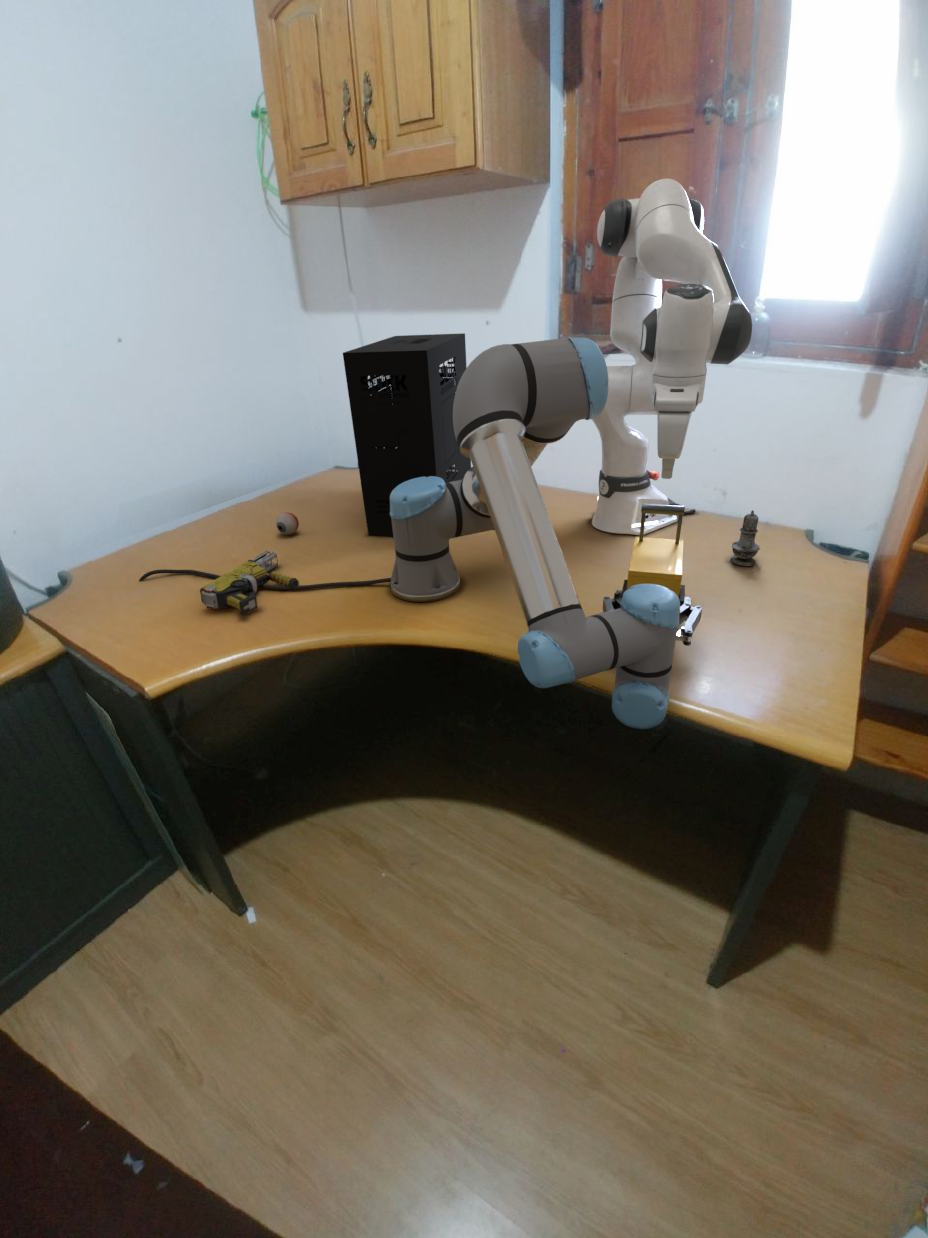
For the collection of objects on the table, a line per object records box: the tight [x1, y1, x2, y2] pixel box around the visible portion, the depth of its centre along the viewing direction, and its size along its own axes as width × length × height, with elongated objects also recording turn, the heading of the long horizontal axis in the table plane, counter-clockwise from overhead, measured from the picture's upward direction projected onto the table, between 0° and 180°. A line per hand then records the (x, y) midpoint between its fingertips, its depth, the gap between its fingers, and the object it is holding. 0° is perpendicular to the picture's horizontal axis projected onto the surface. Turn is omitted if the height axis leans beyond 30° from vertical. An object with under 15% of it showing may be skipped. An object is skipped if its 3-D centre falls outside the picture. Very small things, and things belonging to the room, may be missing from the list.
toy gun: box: [199, 550, 300, 616], centre depth 135 cm, size 5×24×15 cm
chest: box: [627, 575, 683, 598], centre depth 117 cm, size 15×9×11 cm, turn 162°
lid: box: [627, 504, 686, 582], centre depth 112 cm, size 16×9×9 cm, turn 162°
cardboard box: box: [342, 333, 472, 537], centre depth 164 cm, size 38×20×45 cm, turn 167°
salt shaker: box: [729, 509, 761, 567], centre depth 133 cm, size 6×6×12 cm
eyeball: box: [275, 511, 300, 536], centre depth 163 cm, size 6×6×6 cm
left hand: (653, 588), depth 113 cm, fingers open, 9 cm apart
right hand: (667, 469), depth 112 cm, fingers open, 8 cm apart
